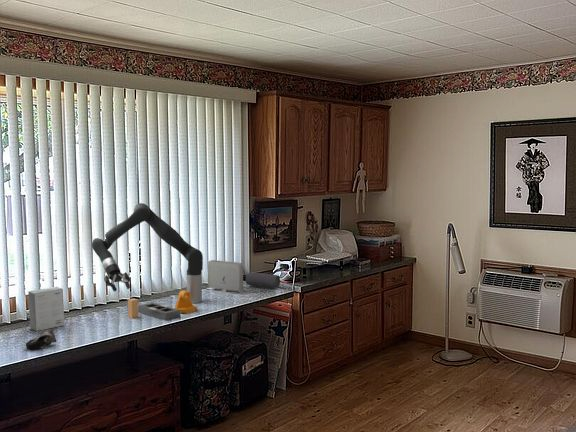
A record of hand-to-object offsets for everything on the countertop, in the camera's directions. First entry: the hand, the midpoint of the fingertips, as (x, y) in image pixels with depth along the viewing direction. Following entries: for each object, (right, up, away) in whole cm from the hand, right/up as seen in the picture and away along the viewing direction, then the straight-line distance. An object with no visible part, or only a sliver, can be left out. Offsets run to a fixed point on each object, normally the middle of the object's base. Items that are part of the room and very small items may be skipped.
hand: (122, 289), depth 340 cm
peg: (+8, -15, -6) cm, 18 cm away
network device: (+52, -9, +60) cm, 80 cm away
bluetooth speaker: (+77, -8, +72) cm, 106 cm away
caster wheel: (-22, -20, -60) cm, 67 cm away
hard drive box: (-32, -17, -26) cm, 45 cm away
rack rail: (+21, -14, 0) cm, 25 cm away
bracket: (+35, -14, +7) cm, 39 cm away
